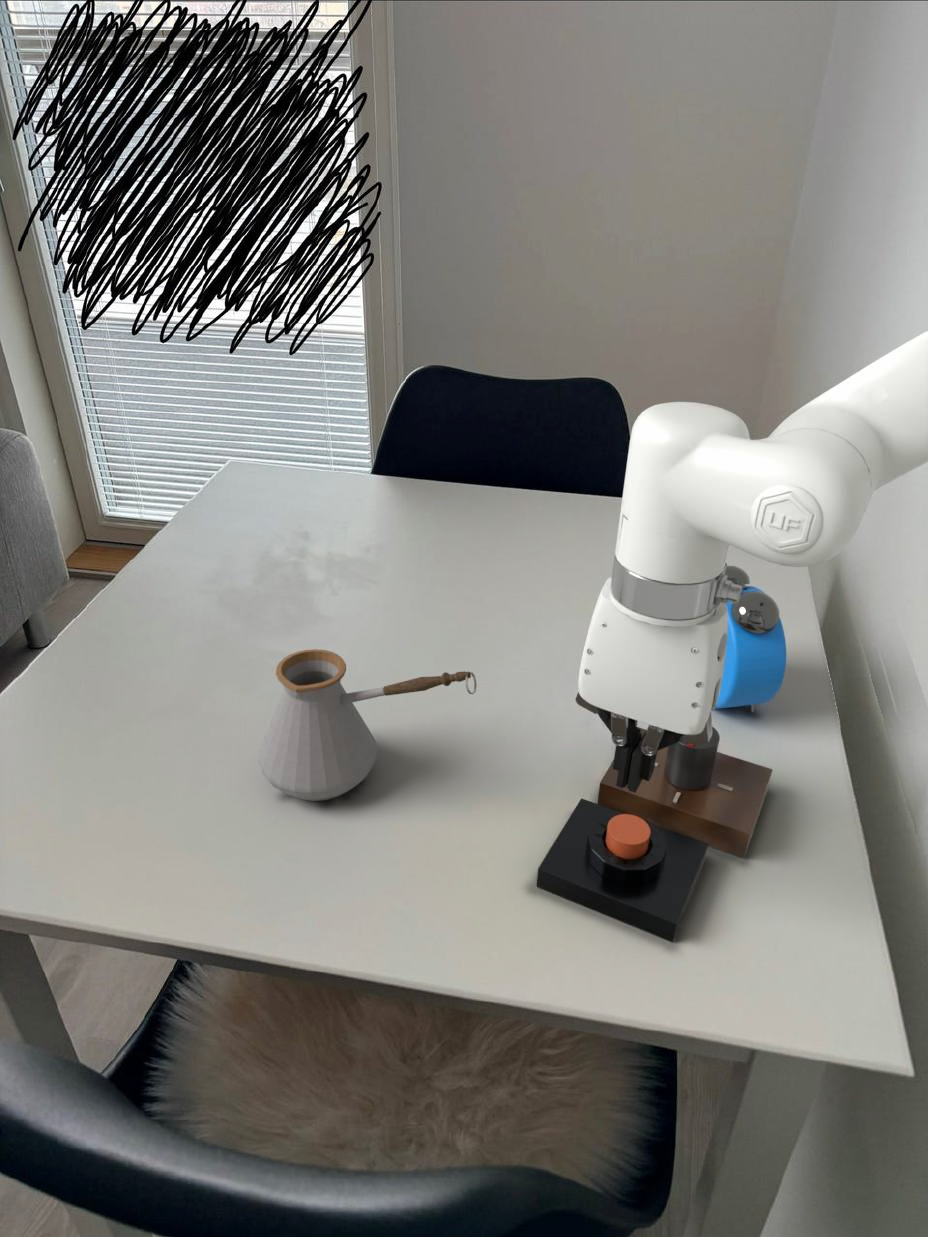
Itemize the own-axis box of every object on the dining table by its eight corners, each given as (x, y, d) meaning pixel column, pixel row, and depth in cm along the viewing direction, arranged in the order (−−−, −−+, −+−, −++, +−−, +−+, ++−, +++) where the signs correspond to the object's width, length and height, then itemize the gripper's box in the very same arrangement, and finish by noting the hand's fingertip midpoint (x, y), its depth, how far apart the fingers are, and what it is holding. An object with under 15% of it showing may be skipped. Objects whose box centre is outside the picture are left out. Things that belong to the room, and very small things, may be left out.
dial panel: (767, 792, 86) (773, 767, 84) (743, 859, 78) (750, 833, 77) (630, 748, 92) (634, 724, 90) (596, 806, 84) (599, 781, 82)
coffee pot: (240, 802, 84) (221, 672, 76) (290, 730, 93) (277, 608, 85) (457, 845, 79) (459, 711, 72) (485, 765, 89) (490, 640, 81)
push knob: (653, 838, 75) (656, 822, 75) (640, 865, 73) (642, 850, 72) (613, 823, 77) (615, 808, 76) (599, 850, 74) (601, 834, 73)
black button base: (704, 861, 78) (712, 828, 76) (672, 942, 70) (679, 908, 68) (579, 815, 83) (582, 783, 81) (536, 887, 75) (538, 853, 73)
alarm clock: (773, 728, 95) (803, 608, 87) (720, 734, 94) (745, 613, 86) (721, 662, 106) (742, 551, 98) (672, 667, 105) (691, 555, 97)
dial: (670, 755, 86) (678, 711, 83) (715, 768, 84) (724, 724, 82) (658, 781, 83) (666, 737, 80) (705, 796, 81) (714, 751, 78)
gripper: (783, 587, 62) (734, 783, 71) (585, 538, 68) (564, 726, 77) (760, 635, 56) (710, 842, 66) (546, 577, 62) (529, 775, 71)
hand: (631, 779), depth 71 cm, fingers closed
